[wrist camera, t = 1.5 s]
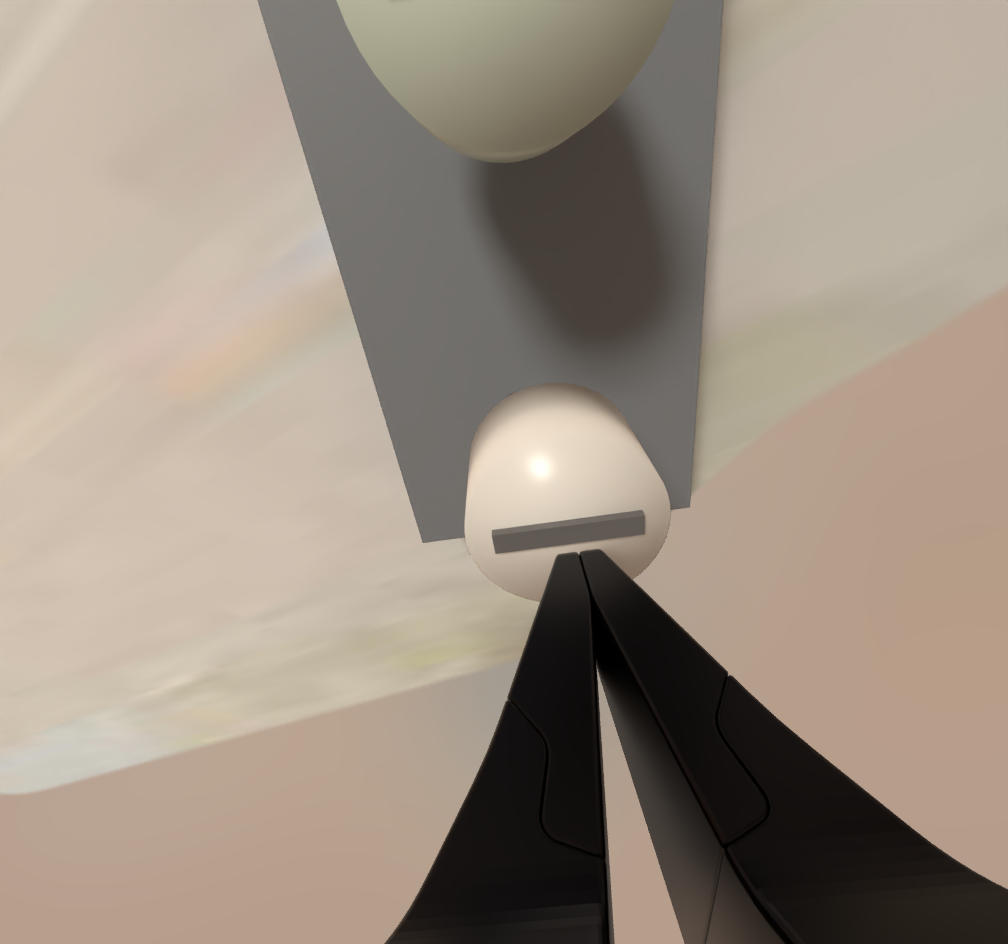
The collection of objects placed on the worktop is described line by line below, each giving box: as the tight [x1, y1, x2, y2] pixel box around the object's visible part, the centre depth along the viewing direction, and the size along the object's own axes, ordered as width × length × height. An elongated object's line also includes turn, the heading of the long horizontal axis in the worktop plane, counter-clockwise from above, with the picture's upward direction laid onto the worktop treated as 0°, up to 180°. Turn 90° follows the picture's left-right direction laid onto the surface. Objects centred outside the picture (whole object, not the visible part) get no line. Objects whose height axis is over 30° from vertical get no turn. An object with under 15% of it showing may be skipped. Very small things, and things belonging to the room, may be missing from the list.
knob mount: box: [258, 0, 723, 543], centre depth 12 cm, size 10×27×4 cm, turn 8°
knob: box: [465, 383, 671, 602], centre depth 13 cm, size 4×4×7 cm
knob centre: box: [336, 0, 674, 163], centre depth 8 cm, size 4×4×7 cm
